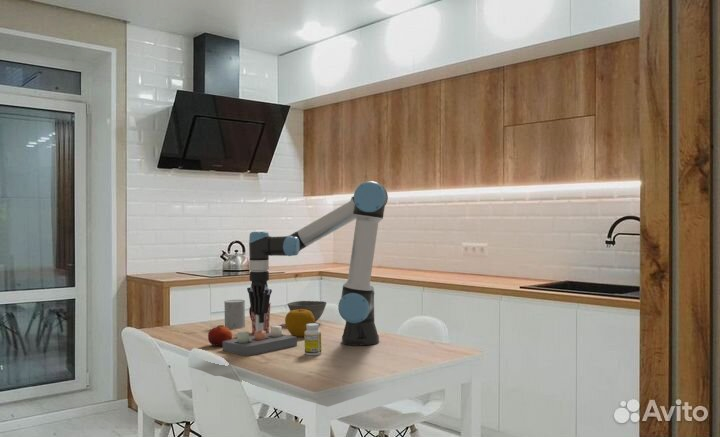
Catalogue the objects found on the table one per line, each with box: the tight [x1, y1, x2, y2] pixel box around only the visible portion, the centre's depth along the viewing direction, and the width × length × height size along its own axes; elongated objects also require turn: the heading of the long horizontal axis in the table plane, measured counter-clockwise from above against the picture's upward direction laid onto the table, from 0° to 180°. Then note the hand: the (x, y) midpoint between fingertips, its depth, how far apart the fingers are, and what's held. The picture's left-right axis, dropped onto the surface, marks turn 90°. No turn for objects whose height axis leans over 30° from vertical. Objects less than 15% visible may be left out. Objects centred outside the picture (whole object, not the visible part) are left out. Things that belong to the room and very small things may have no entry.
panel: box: [222, 331, 298, 357], centre depth 237 cm, size 16×24×4 cm, turn 137°
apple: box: [284, 309, 316, 338], centre depth 262 cm, size 13×13×11 cm
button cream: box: [270, 325, 283, 338], centre depth 243 cm, size 4×4×4 cm
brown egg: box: [253, 331, 266, 341], centre depth 237 cm, size 4×4×4 cm
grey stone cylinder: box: [224, 299, 246, 330], centre depth 286 cm, size 10×10×12 cm
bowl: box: [286, 300, 327, 323], centre depth 293 cm, size 19×19×10 cm
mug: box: [248, 301, 272, 335], centre depth 270 cm, size 13×9×14 cm
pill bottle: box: [303, 322, 322, 356], centre depth 225 cm, size 6×6×11 cm
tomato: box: [207, 324, 233, 347], centre depth 244 cm, size 9×9×8 cm
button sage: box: [236, 331, 250, 344], centre depth 231 cm, size 4×4×4 cm
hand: (259, 330), depth 237 cm, fingers closed
